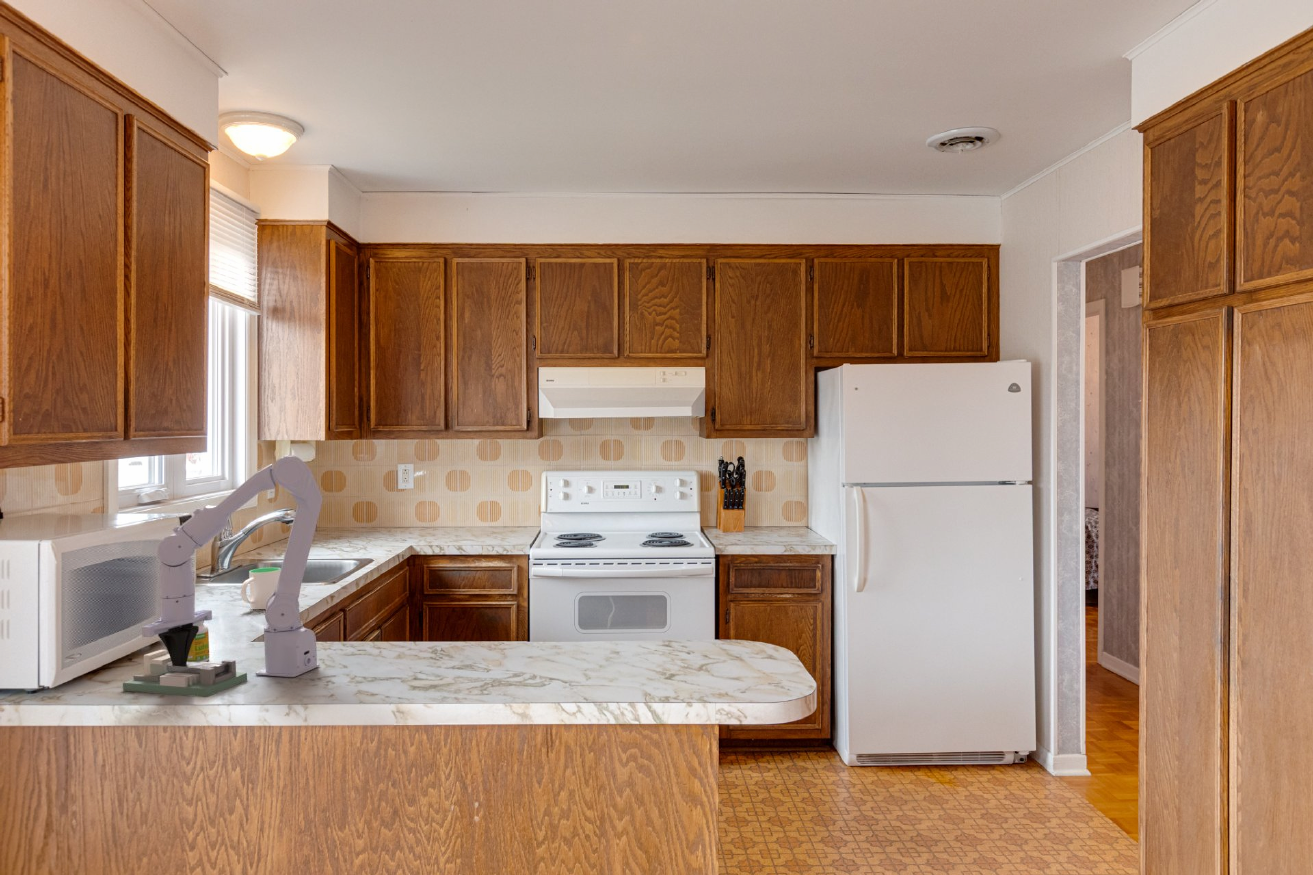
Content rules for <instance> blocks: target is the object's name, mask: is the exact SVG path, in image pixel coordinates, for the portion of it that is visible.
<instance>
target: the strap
mask: <svg viewBox="0 0 1313 875" xmlns="http://www.w3.org/2000/svg"><path fill="white" fill-rule="evenodd" d="M221 663H222V662H221ZM201 668H214V670H215V676H216V675H219V674H222V673H224V672H227V671H228V670H229V664H228V663H226V662H225V663H222V664H208V663H197V662H187V663H186V664H183V665H173V664H172V663H170V664H169V663H168V665H166V669H167V670H168V671H179V672H189V673H199V674H200V669H201Z"/></svg>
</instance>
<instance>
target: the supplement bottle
mask: <svg viewBox="0 0 1313 875" xmlns="http://www.w3.org/2000/svg"><path fill="white" fill-rule="evenodd" d="M204 623H205V621H202V622H198V623H195V624H193V626H198V627H199V631H198V633H197V634H196V636H195V638H194V640H193V642H192V645H191V648H190V651H189V655H188V659H187V662H197V663H199V662H209V660H210V638H209V637H210V636H209V627H208V626H207V625H205V624H204Z"/></svg>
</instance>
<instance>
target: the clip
mask: <svg viewBox="0 0 1313 875" xmlns="http://www.w3.org/2000/svg"><path fill="white" fill-rule="evenodd" d="M169 663H172V661H171V658H170V655H169V653H168V650H167V649H159V650H156V651H152V652H149V653H146V654H144V655H143V670H144V671H143V672H144V674H143V675H146V676H159V675H162V674H165V673H168V670H167V669H166V665H169Z"/></svg>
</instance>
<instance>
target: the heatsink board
mask: <svg viewBox="0 0 1313 875" xmlns="http://www.w3.org/2000/svg"><path fill="white" fill-rule="evenodd" d="M225 662H226V663H228V664H229V670H228V671H227V672H224V673H222V674H219V675H216V676H215V670H214V668H201V669H200V674H199V673H189V672H179V671H168V673H165V674H162V675H159V676H146V675H144V674H135V675H133V676H132V677H133V679H129V680H126V681H124V682H122V691H125V692H126V691H127V692H138V693H139V692H140V693H151V694H163V695H164V694H165V695H174V696H175V695H178V696H191V697H199V698H200V697H203V698H204V697H205V698H209V697H210V696H213V695H215V694H218V693H220V692H222V691H225V690H227V689H230V688H232V687H235V686H237V685H240V684H241V683H244V682H247V681H248V673H247V672H242V671H241V672H239V671H237V669H236V668H237V665H236V664H237V662H236V660H234V659H224V660H221V662H213V661H212V662H211V661H206V662H199V663H208V664H222V663H225Z"/></svg>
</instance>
